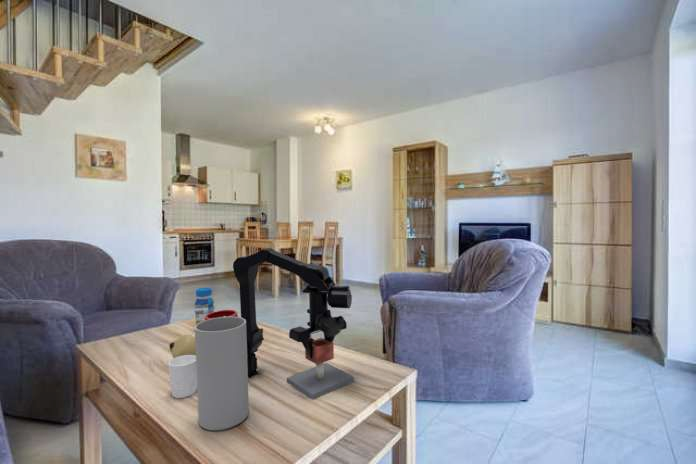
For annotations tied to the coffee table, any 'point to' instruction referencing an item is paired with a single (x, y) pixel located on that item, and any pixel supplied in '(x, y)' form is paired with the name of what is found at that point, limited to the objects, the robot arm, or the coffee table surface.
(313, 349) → the red square tube
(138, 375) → the coffee table surface
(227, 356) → the cylinder vase
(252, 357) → the robot arm
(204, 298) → the beverage bottle
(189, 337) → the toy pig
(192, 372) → the white cup
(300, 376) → the flat gray board
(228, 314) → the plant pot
